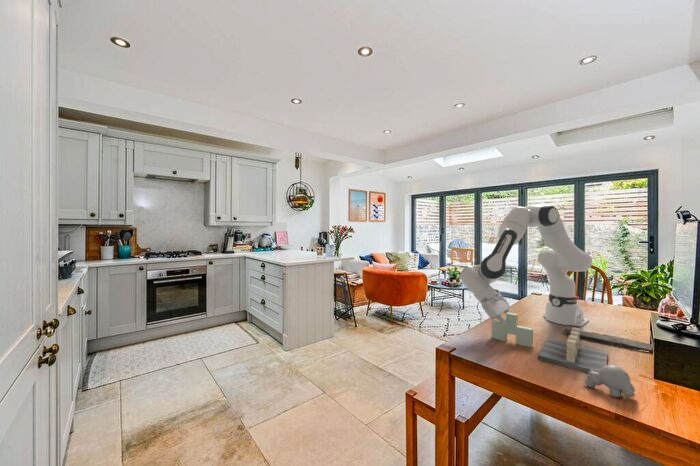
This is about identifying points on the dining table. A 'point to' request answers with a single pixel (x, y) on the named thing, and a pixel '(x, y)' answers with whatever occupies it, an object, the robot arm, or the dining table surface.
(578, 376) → the dining table surface
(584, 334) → the stone slab
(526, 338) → the sage slotted plate
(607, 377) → the chubby cartoon animal
